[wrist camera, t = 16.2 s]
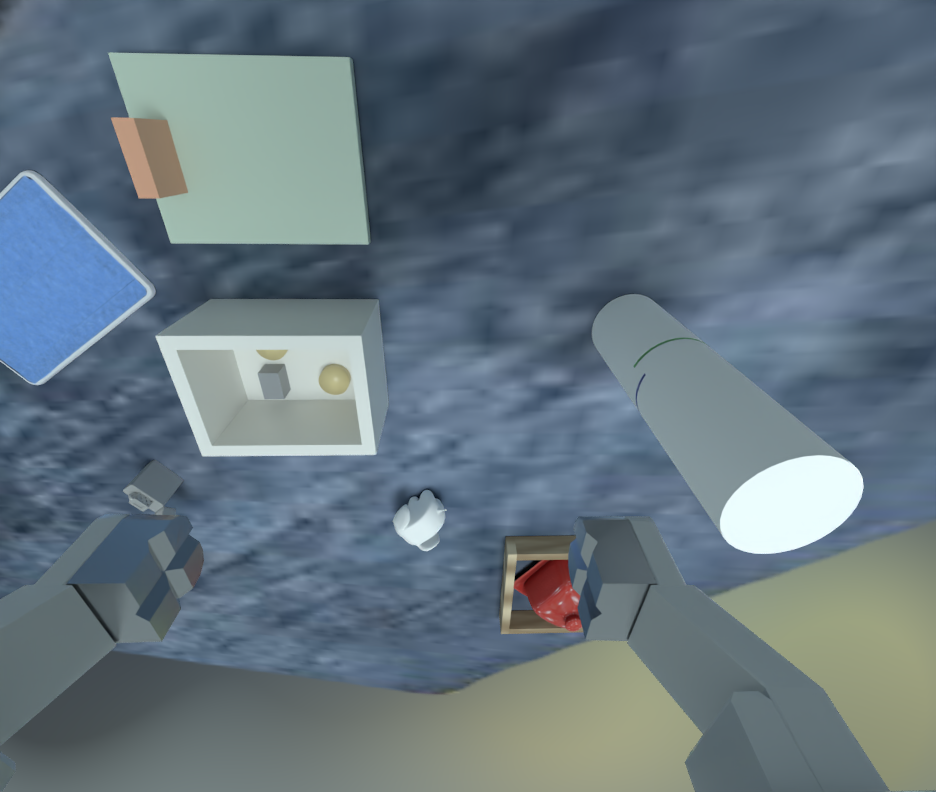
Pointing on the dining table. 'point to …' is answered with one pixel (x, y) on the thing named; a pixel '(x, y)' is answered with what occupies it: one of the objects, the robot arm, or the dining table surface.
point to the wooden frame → (514, 551)
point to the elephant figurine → (420, 520)
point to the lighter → (153, 488)
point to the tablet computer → (57, 280)
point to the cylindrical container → (726, 433)
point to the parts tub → (280, 376)
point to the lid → (245, 146)
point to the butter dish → (551, 593)
